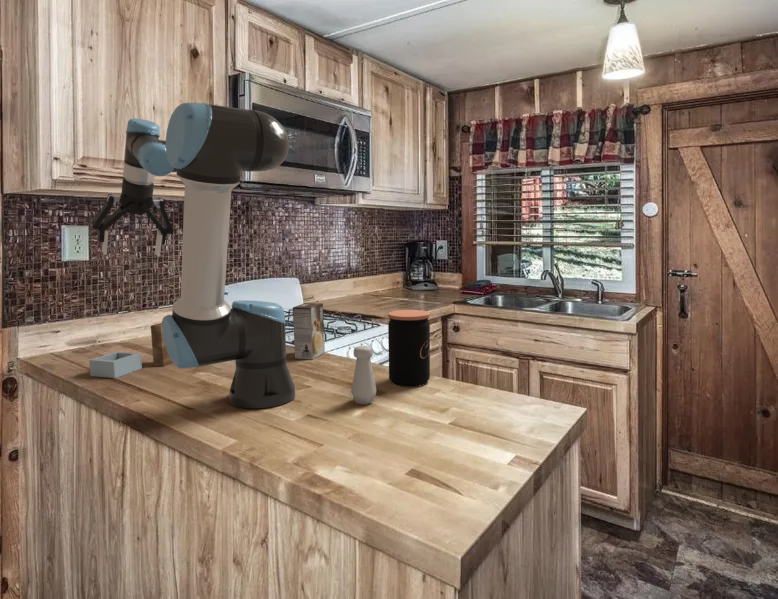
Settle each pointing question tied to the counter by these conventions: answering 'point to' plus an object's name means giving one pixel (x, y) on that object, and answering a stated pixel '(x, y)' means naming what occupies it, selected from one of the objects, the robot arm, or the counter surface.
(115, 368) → the blue-grey open box
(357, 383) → the salt shaker
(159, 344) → the upright wooden block
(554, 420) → the counter surface
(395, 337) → the coffee jar
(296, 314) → the coffee box
